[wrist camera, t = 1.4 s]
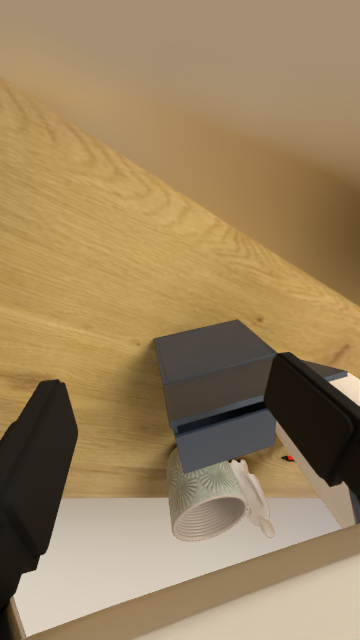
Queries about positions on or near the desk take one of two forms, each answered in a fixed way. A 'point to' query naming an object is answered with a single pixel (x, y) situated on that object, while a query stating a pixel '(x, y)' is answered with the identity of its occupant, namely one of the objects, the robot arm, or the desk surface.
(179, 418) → the flap
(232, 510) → the planter
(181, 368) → the carton
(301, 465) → the white rounded tall casing
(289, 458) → the pen
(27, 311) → the desk surface
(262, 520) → the figurine
